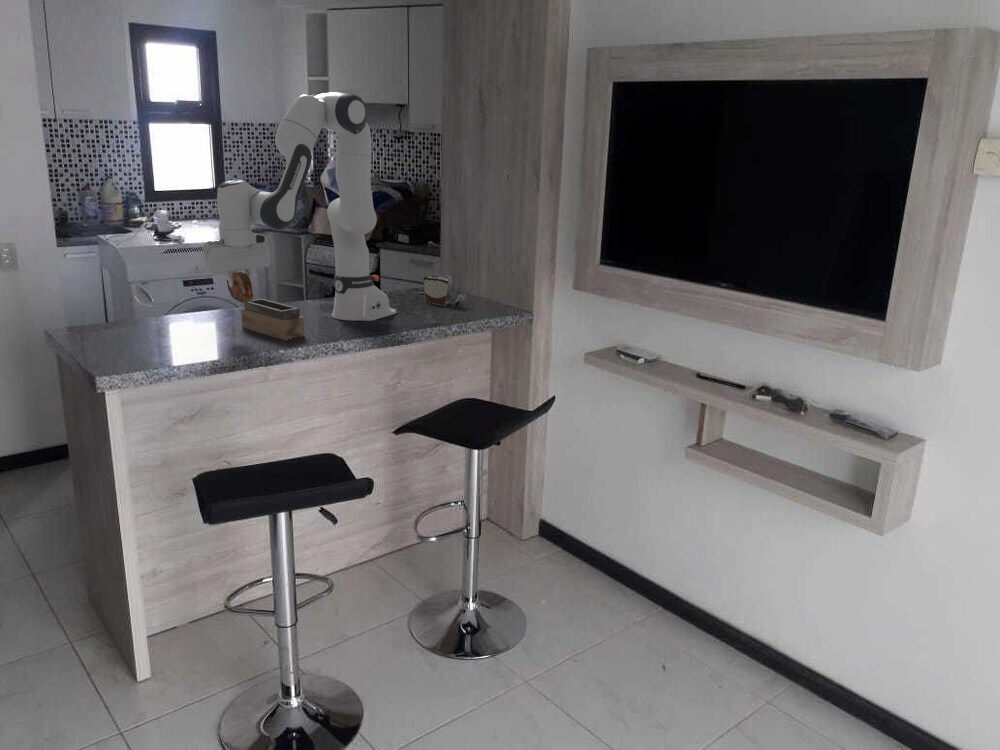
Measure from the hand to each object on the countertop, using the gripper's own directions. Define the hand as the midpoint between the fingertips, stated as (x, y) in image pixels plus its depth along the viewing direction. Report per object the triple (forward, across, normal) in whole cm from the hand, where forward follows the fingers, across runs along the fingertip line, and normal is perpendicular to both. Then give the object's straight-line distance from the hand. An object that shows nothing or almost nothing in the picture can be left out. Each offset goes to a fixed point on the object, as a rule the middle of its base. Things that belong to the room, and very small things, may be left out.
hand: (239, 285), depth 236 cm
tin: (+4, +1, 0) cm, 5 cm away
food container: (+17, +80, -4) cm, 82 cm away
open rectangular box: (+16, +10, 0) cm, 19 cm away
